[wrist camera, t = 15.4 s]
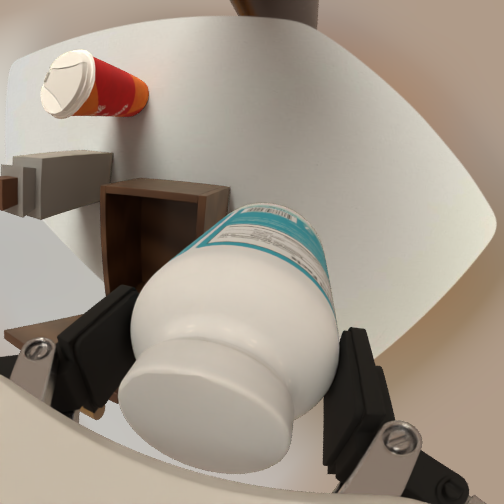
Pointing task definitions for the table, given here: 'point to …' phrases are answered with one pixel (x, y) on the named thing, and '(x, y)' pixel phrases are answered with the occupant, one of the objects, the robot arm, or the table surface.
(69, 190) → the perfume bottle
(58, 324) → the chest lid
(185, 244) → the chest
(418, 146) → the table surface
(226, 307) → the pill bottle
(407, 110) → the table surface
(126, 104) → the paper cup
